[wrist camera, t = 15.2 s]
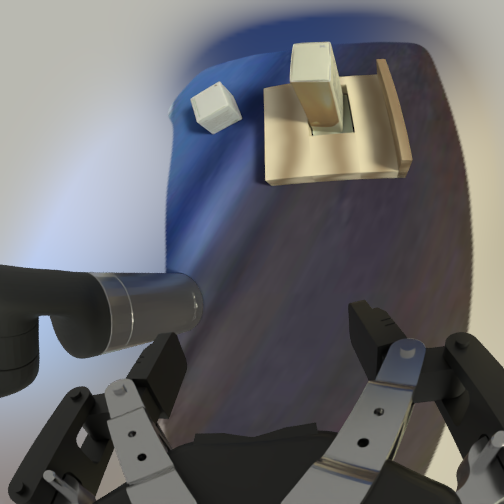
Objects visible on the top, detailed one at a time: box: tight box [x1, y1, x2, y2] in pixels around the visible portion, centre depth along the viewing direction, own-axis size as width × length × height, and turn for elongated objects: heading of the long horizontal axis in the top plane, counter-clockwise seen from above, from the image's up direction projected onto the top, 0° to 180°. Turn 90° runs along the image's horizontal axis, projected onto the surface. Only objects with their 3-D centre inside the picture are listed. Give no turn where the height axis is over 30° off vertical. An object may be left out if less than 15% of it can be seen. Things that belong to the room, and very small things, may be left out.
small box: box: [191, 82, 242, 134], centre depth 39 cm, size 6×6×5 cm
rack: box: [264, 59, 412, 186], centre depth 31 cm, size 18×15×6 cm
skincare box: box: [290, 42, 344, 132], centre depth 28 cm, size 6×4×12 cm
